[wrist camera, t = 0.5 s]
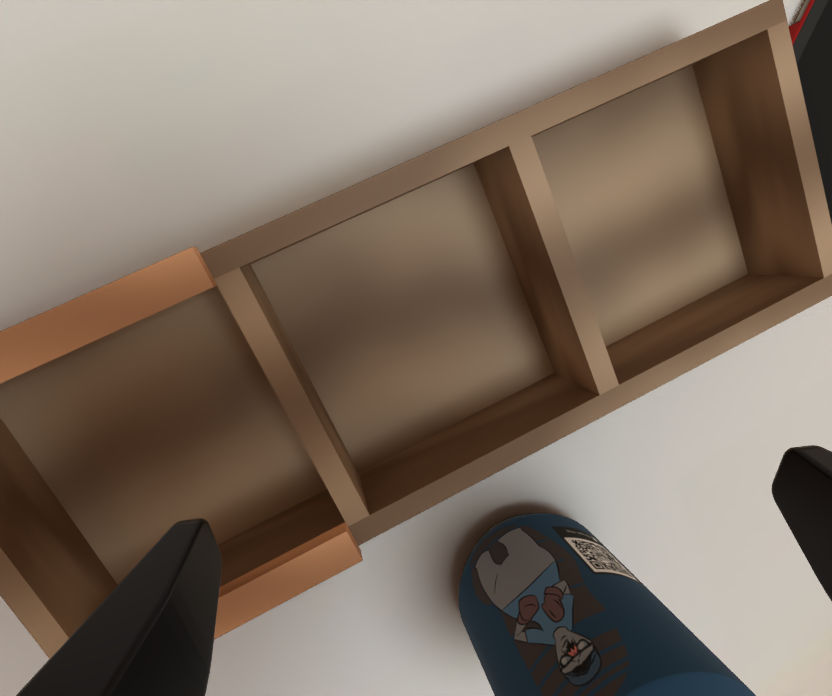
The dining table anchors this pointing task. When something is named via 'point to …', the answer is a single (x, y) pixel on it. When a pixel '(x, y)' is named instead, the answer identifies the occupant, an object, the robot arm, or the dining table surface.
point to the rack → (410, 330)
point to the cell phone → (817, 79)
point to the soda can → (576, 620)
